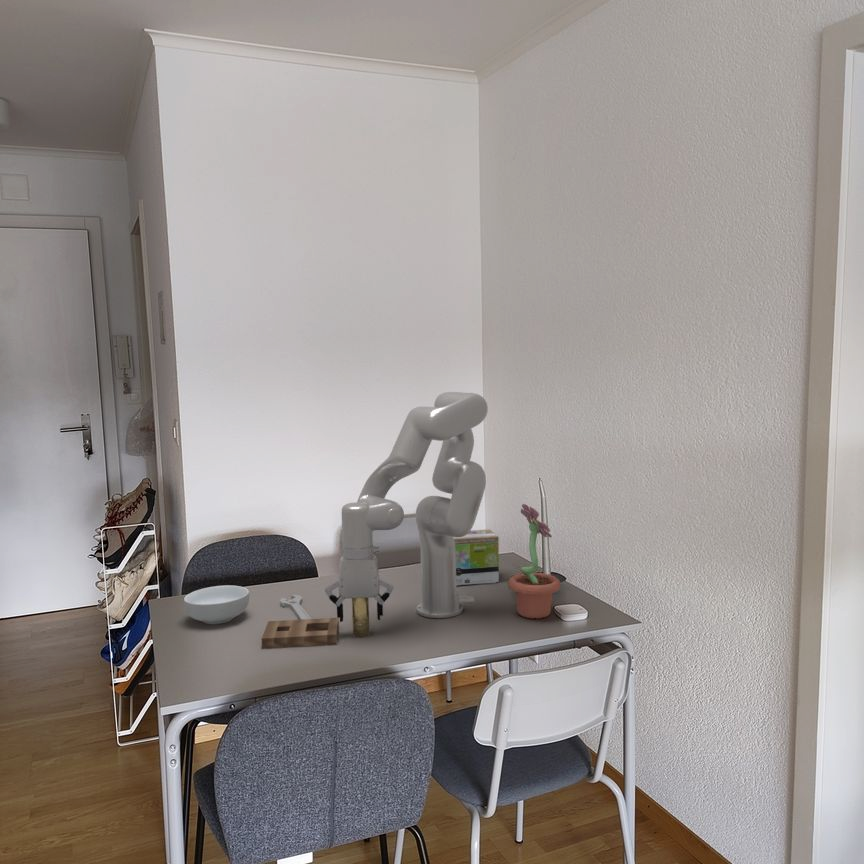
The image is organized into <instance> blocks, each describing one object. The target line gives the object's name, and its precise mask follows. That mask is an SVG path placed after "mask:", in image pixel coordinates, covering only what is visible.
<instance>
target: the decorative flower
mask: <svg viewBox="0 0 864 864" xmlns="http://www.w3.org/2000/svg"><path fill="white" fill-rule="evenodd" d="M520 513H521V514H522V516H524V517H525V518H526V520H527V522H528V528H529V531H530V533H529V539H528V540H529V542H528V547H529V548H528V549H529V556H530V560H531V561H530V563H531V565H530V566H522V567H520V566H517V565H516V564H513V563H512V565H513V566H515V567H516V568H519V569H520V572H521V573H517V574H514V575H512V576H510V577H509V579H508V581H507V586H508V589H510V590H511V591H513V592H515V594H516V595H515V597H516V609H517V613H518V614H519V615H520V616H521V617H524V618H526V619H534V618H536V619H543V617H544V618H546V617H548V616H549V615H550V614H551V610H552V602H553V601H552V600H553V593H557V592H558V591H560V590H561V585H562V584H561V581H560V579H558V577H557V576H554V575H551V574H548V573H544V572H543V573H542V571H541V570H540V567H539V558H538V553H537V545H536V544H537V536H538V535H540V534H541V536H543V537H544V538H548V537H549V538H552V534H551V533H550V532H551V530H550V528H549V527H548V525H547V523H545V522H542V521H540V520H539V519H538V517H539V516H540V513H539V511H538V510H536V509H535V508H533V507H532V506H529V504H526V503H522V505H521V509H520ZM537 571H538V572H537Z"/></svg>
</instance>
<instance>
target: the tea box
mask: <svg viewBox="0 0 864 864" xmlns="http://www.w3.org/2000/svg"><path fill="white" fill-rule="evenodd" d="M453 538H454V542H455V548H456V586H464V585H465V586H466V585H479V584H497V583H496V582H498V583H499V580H500V579H499V578H500V577H499V575H500V572H499V571H500V564H499V563H500V562H499V549H500V544H499V539H500V538H499V536H498V535H497V534H496V533H495V532H493V531H492V530H491V529H474V530H472V529H471V530H470V532H469V533H468V534H467V535H465V536H463V537H453Z"/></svg>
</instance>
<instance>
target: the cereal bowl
mask: <svg viewBox="0 0 864 864" xmlns="http://www.w3.org/2000/svg"><path fill="white" fill-rule="evenodd" d="M183 603H184V609H185V612H186V614H187V615H188V616H189V617H190V618H192V619H194V620H197V621H199V622H203V623H205V624H206V625H207V624H208V625H219V624H224V623H225V624H226V623H228V622H231V621H232V620H233V619H234V618H235V617H238V616H240V615H241V614H242V613H243V612H244V611H245V610H246V609H247V607H248V605H249V603H250V592H249V589H248V588H246V587H243V586H241V585H239V586H238V585H228V584H227V585H215V586H210V587H204V588H201V589H200V588H199V589H197V590H194V591H192V592H190V593H188V594H186V596H185V597H184V598H183Z"/></svg>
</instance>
